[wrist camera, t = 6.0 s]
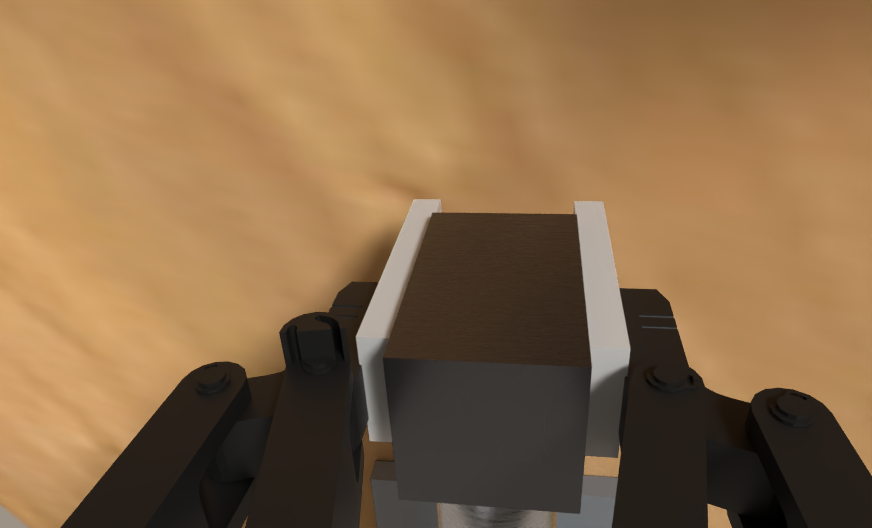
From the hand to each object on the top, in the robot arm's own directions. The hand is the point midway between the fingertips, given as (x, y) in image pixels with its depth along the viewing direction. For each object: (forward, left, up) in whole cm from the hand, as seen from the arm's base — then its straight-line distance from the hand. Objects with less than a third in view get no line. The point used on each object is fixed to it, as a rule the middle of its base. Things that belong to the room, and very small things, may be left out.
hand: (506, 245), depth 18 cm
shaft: (+8, -5, +1) cm, 9 cm away
